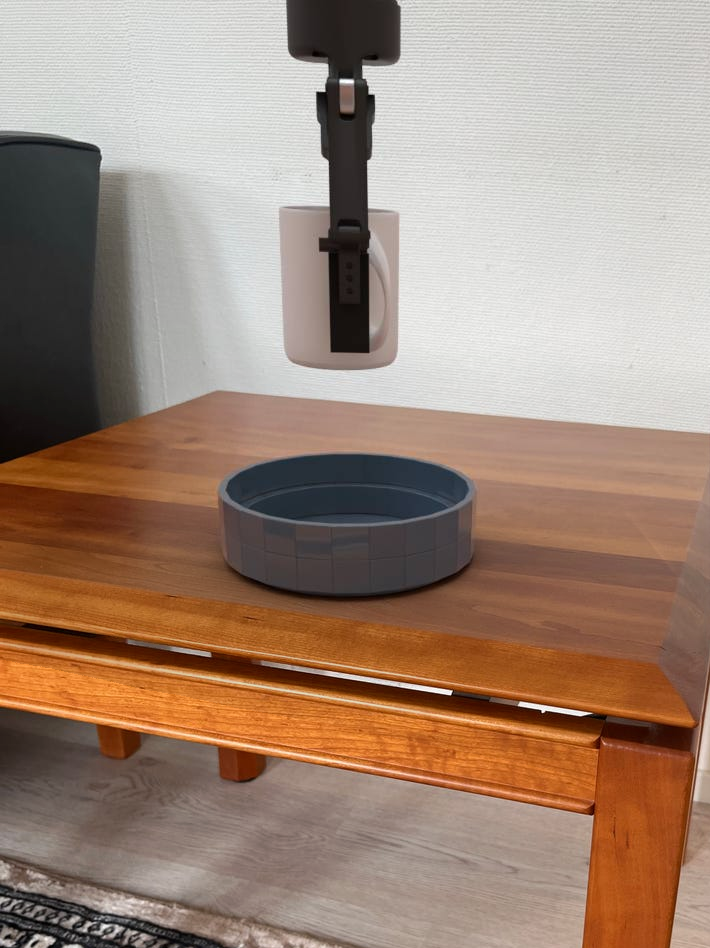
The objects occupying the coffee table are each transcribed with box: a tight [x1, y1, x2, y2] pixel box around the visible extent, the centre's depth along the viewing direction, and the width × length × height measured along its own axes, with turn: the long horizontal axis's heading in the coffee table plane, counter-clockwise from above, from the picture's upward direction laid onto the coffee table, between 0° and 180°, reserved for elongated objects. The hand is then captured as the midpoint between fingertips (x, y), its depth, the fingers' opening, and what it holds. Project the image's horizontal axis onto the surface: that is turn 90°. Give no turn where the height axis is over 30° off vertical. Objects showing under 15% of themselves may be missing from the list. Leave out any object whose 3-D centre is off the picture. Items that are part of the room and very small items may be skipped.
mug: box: [278, 205, 400, 371], centre depth 74 cm, size 9×12×11 cm
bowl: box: [216, 451, 478, 597], centre depth 78 cm, size 19×19×6 cm
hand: (348, 339), depth 76 cm, fingers closed on mug, 11 cm apart
